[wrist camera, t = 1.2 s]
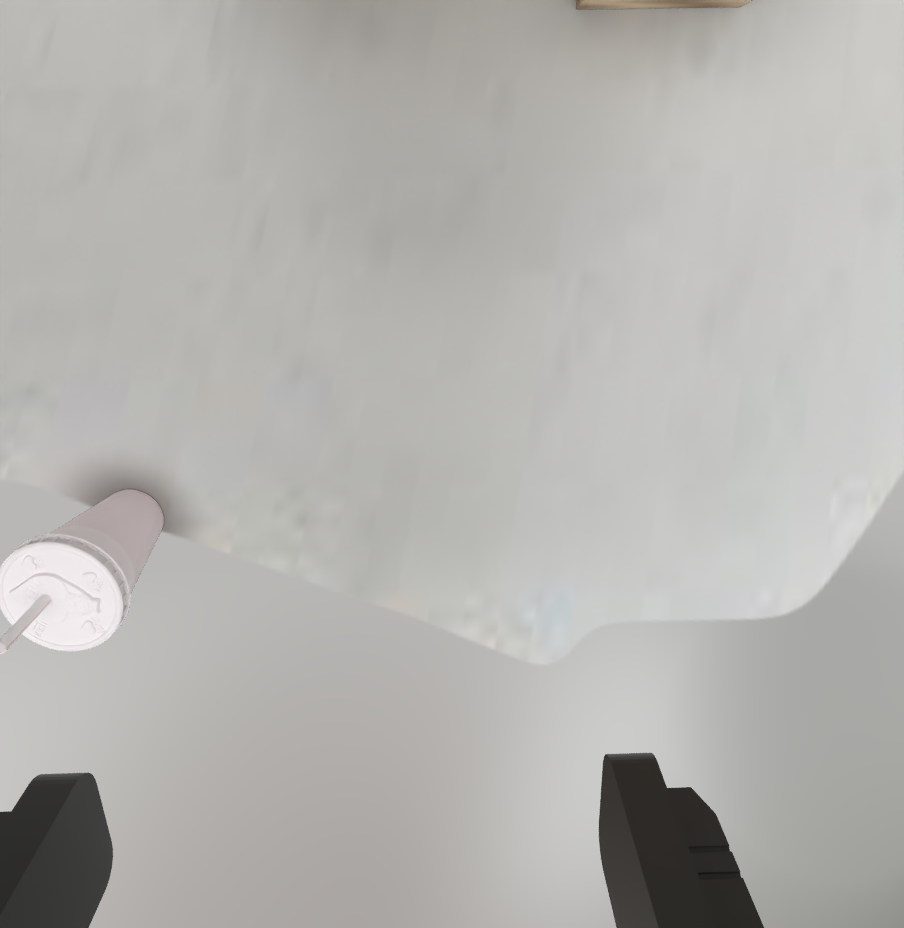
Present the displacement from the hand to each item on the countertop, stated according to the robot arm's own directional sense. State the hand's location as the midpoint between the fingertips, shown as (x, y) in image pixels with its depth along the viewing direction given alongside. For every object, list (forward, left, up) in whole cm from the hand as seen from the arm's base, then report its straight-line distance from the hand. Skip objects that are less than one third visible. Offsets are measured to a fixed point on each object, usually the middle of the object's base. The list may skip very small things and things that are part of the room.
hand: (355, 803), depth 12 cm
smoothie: (-18, -11, -34) cm, 40 cm away
